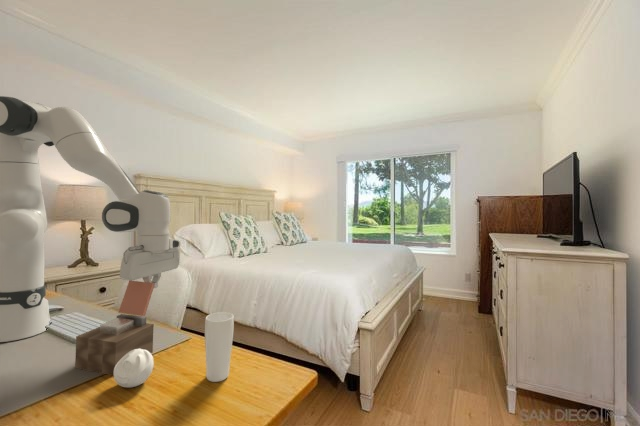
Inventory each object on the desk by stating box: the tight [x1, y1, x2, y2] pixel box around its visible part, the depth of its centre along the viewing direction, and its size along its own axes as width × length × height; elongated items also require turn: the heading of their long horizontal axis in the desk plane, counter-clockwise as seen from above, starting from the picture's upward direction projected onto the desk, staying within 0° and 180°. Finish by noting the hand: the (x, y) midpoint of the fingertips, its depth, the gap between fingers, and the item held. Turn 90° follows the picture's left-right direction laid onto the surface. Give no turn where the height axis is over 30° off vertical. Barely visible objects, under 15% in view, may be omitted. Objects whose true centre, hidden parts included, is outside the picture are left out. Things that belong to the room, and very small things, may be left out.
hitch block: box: [74, 313, 154, 376], centre depth 78 cm, size 12×12×10 cm
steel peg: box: [99, 317, 134, 335], centre depth 78 cm, size 5×5×9 cm
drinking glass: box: [204, 311, 235, 383], centre depth 72 cm, size 7×7×15 cm
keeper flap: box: [118, 280, 155, 317], centre depth 84 cm, size 9×8×1 cm
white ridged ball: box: [113, 348, 155, 389], centre depth 68 cm, size 8×8×8 cm
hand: (151, 288), depth 89 cm, fingers closed
